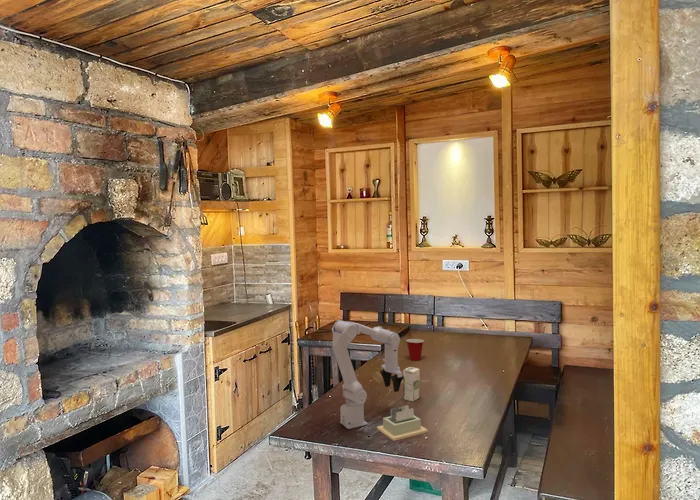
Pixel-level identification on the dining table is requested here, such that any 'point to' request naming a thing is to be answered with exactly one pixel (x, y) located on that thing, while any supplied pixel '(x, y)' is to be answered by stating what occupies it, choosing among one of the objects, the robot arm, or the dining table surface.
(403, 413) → the bracket
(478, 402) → the dining table surface
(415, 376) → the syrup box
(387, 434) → the well
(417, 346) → the plastic cup
